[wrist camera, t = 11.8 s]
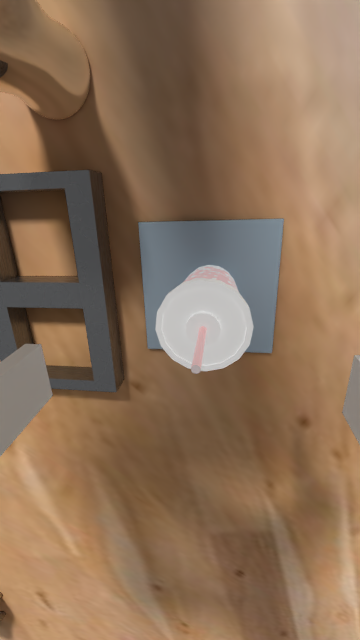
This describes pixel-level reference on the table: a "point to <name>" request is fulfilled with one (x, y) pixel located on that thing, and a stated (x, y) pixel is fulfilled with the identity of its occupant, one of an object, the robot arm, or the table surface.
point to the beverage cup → (205, 321)
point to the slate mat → (219, 250)
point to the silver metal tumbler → (41, 60)
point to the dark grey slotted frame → (66, 281)
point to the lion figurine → (1, 614)
